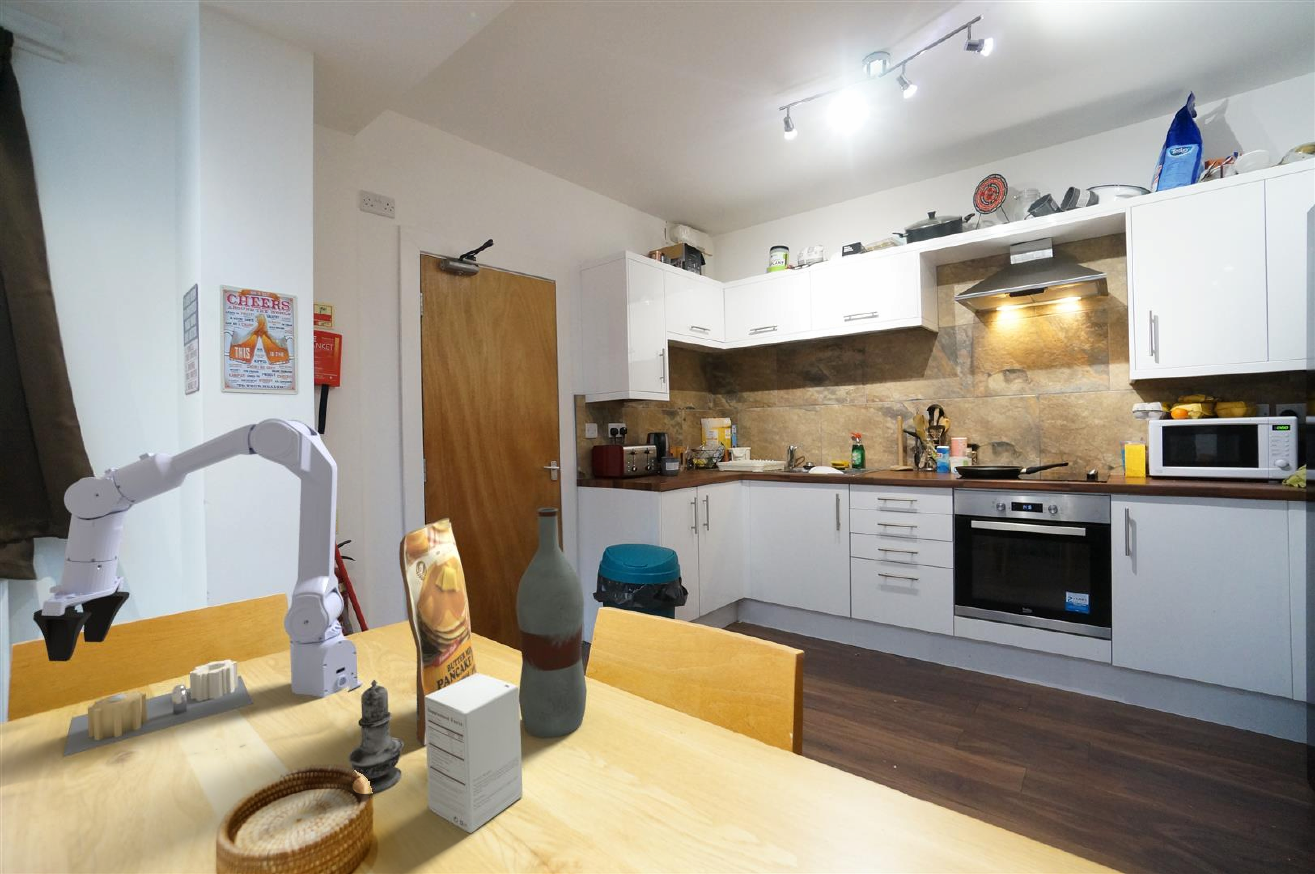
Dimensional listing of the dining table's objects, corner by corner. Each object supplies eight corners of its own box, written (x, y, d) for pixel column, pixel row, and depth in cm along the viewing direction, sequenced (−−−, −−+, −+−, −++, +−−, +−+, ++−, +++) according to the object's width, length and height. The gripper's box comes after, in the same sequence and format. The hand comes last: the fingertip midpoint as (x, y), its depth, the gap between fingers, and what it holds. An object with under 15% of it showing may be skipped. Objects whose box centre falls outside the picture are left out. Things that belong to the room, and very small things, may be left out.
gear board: (240, 681, 97) (239, 649, 97) (253, 709, 87) (251, 673, 87) (72, 724, 84) (71, 686, 84) (63, 763, 74) (61, 721, 74)
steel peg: (189, 710, 85) (188, 683, 85) (176, 715, 84) (175, 688, 84) (183, 708, 86) (182, 681, 86) (170, 713, 84) (169, 686, 84)
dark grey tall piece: (413, 766, 71) (410, 669, 71) (386, 797, 65) (383, 691, 65) (368, 765, 72) (365, 669, 71) (337, 795, 66) (334, 690, 66)
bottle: (518, 744, 75) (511, 515, 75) (520, 711, 84) (514, 506, 84) (590, 735, 77) (583, 511, 77) (585, 703, 86) (579, 503, 86)
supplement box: (482, 775, 69) (478, 670, 69) (524, 797, 64) (521, 684, 64) (425, 810, 63) (422, 694, 62) (469, 836, 58) (465, 712, 58)
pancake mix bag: (386, 751, 74) (379, 535, 74) (452, 686, 93) (447, 513, 93) (436, 753, 74) (429, 535, 73) (493, 686, 93) (487, 513, 92)
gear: (229, 696, 90) (228, 671, 89) (184, 703, 88) (184, 677, 88) (242, 681, 95) (241, 657, 95) (200, 687, 93) (199, 663, 93)
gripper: (90, 546, 91) (76, 633, 90) (20, 567, 77) (3, 669, 77) (144, 549, 93) (131, 634, 92) (85, 570, 79) (70, 670, 79)
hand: (77, 650), depth 85 cm, fingers open, 7 cm apart
